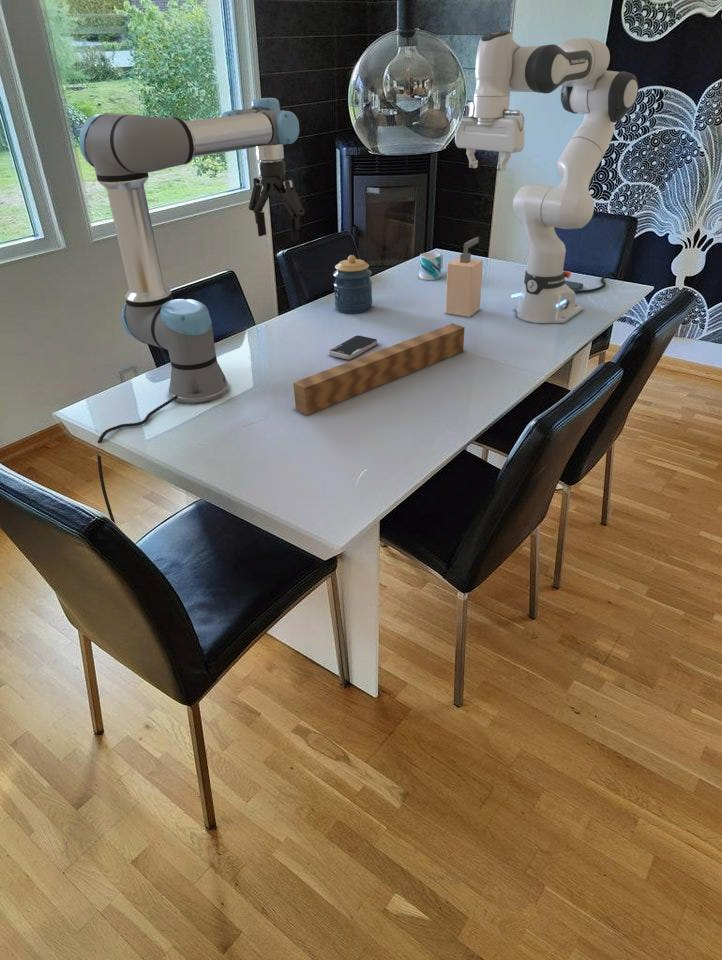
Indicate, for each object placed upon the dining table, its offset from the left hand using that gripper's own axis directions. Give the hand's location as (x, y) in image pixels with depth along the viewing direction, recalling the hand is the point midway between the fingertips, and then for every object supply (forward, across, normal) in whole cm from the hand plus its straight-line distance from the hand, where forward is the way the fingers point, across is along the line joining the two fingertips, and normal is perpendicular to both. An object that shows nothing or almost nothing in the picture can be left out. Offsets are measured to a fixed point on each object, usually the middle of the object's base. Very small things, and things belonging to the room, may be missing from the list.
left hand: (278, 238), depth 202 cm
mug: (+28, -10, -72) cm, 78 cm away
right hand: (-20, -58, -21) cm, 64 cm away
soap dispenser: (+28, -40, -44) cm, 66 cm away
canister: (+28, -7, -26) cm, 39 cm away
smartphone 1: (+28, -30, +4) cm, 41 cm away
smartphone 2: (+28, -57, -83) cm, 105 cm away
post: (+28, -50, +15) cm, 59 cm away
